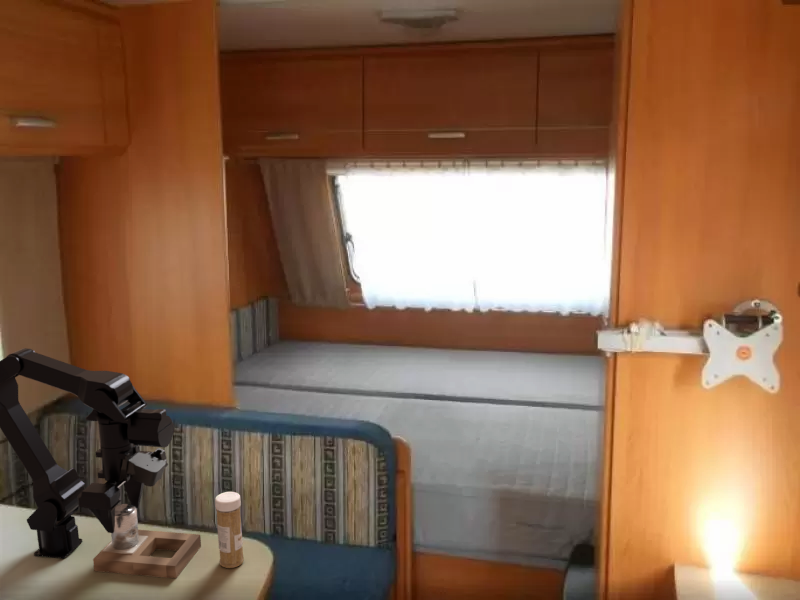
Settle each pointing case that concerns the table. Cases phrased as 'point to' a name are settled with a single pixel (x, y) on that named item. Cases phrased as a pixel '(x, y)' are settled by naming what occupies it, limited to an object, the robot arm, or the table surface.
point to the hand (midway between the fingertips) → (123, 520)
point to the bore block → (140, 555)
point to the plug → (125, 527)
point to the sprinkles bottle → (229, 529)
